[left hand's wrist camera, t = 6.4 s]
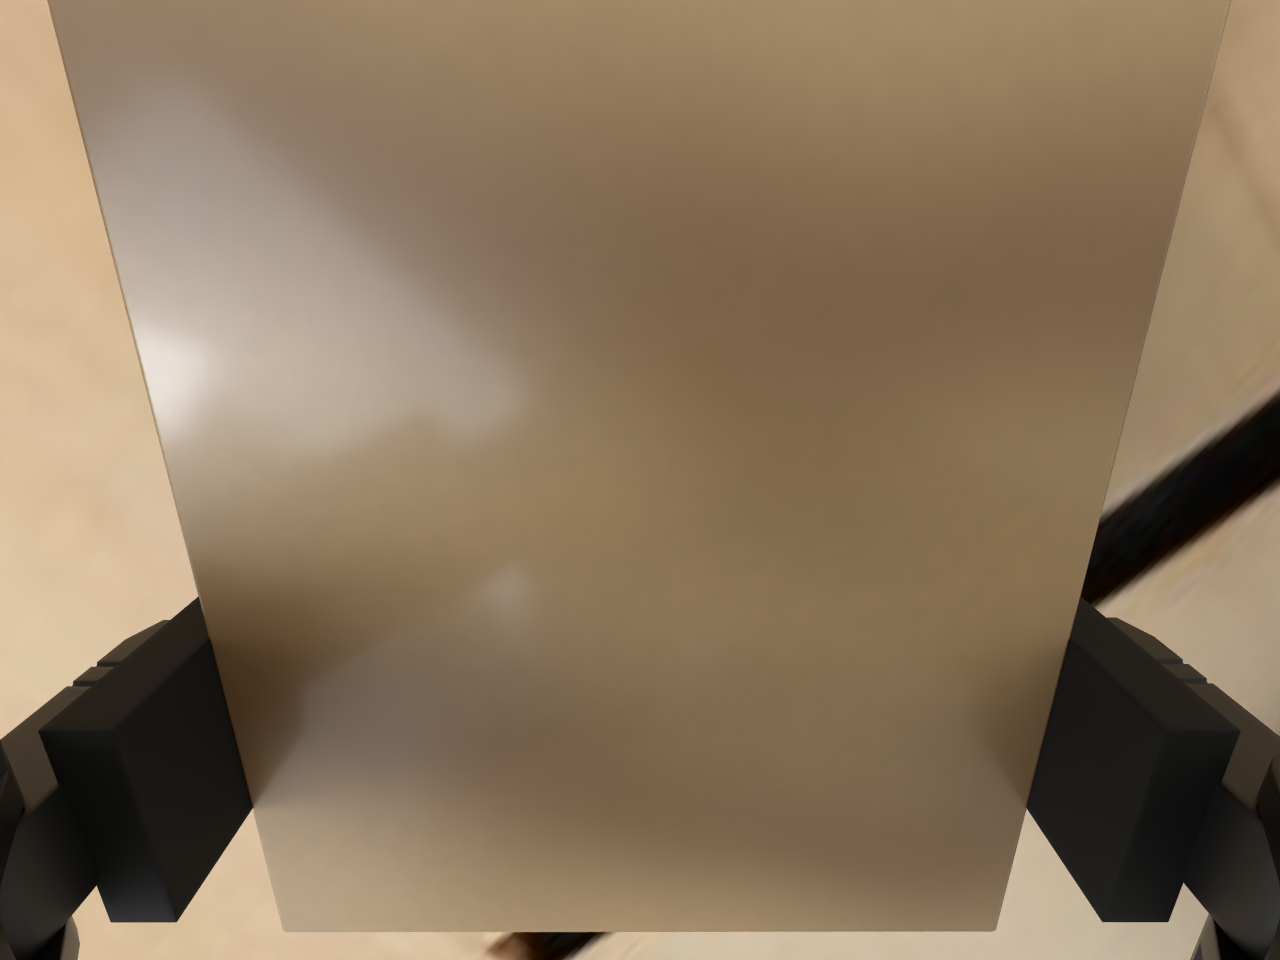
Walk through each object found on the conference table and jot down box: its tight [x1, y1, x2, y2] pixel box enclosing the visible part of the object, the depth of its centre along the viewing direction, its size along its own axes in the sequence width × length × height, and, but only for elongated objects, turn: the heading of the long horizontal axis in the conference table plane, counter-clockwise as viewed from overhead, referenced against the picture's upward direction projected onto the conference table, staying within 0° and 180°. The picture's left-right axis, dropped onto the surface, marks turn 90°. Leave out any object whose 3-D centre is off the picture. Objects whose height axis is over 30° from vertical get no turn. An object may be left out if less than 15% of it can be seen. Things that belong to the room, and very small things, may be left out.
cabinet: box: [47, 0, 1231, 932], centre depth 11 cm, size 20×11×10 cm, turn 0°
